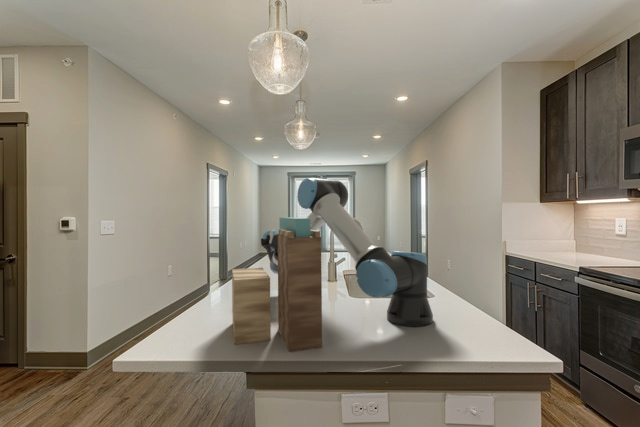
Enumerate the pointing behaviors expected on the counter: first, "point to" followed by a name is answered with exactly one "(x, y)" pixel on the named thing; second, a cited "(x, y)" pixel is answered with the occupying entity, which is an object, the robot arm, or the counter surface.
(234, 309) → the wooden toy block
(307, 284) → the chute stand
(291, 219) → the bar
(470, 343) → the counter surface
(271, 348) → the counter surface
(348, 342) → the counter surface
